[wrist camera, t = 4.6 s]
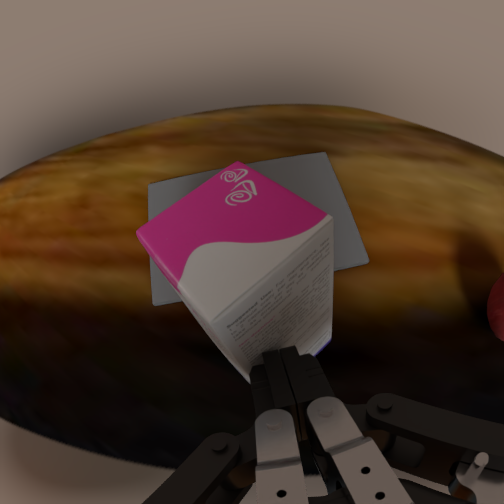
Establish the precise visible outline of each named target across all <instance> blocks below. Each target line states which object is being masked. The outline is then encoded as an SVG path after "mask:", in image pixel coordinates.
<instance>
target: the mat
mask: <svg viewBox="0 0 504 504" xmlns="http://www.w3.org/2000/svg"><path fill="white" fill-rule="evenodd" d="M245 165H247V166H248V167H250V168H252V169H254V170H255V171H257V172H259V173H261V174H262V175H264V176H266V177H268V178H269V179H271V180H273V181H274V182H276V183H278V184H280V185H281V186H283V187H285V188H286V189H288V190H290V191H291V192H293V193H295V194H296V195H298V196H300V197H301V198H303V199H305V200H306V201H308V202H310V203H311V204H313V205H314V206H316V207H318V208H319V209H321V210H323V211H324V212H325V213H327V214H329V215H331V216H332V217H333V219H334V222H333V223H334V230H333V236H334V268H333V271H337V270H341V269H346V268H350V267H355V266H359V265H363V264H368V262H369V259H368V256H367V253H366V250H365V247H364V245H363V242H362V239H361V237H360V234H359V231H358V229H357V226H356V224H355V221H354V219H353V216H352V213H351V211H350V208H349V206H348V204H347V201H346V199H345V196H344V194H343V191H342V189H341V187H340V184H339V182H338V180H337V177H336V175H335V173H334V170H333V168H332V166H331V164H330V161H329V159H328V157H327V155H326V153H325V152H320V153H313V154H305V155H298V156H292V157H285V158H278V159H272V160H266V161H260V162H254V163H249V164H245ZM224 169H225V168H222V169H216V170H211V171H206V172H202V173H197V174H192V175H187V176H183V177H178V178H174V179H169V180H165V181H161V182H157V183H152V184H148V217H149V221H150V220H152V219H153V218H154V217H156V216H157V215H159V214H160V213H161V212H163V211H164V210H166V209H167V208H169V207H170V206H172V205H173V204H174V203H176V202H177V201H179V200H180V199H182V198H183V197H184V196H186V195H187V194H189V193H190V192H192V191H193V190H195V189H196V188H198V187H199V186H200V185H202V184H203V183H205V182H206V181H208V180H209V179H210V178H212V177H213V176H215V175H216V174H218V173H219V172H221V171H222V170H224ZM150 271H151V287H152V300H153V305H155V306H157V305H163V304H169V303H175V302H180V301H182V299H181V298H180V297H179V295H178V294H177V293H176V291H175V290H174V289H173V287H172V286H171V284H170V283H169V282H168V280H167V279H166V278H165V276H164V275H163V273H162V272H161V271H160V269H159V268H158V266H157V265H156V264H155V262H154V261H153V259H152V258H151V256H150Z"/></svg>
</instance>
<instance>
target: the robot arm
mask: <svg viewBox="0 0 504 504" xmlns="http://www.w3.org/2000/svg"><path fill="white" fill-rule="evenodd" d="M279 353H280V354H279ZM262 356H263V361H264V364H260V365H255V366H252V368H251V371H250V373H249V377H250V383H251V389H252V395H253V400H254V406H255V412H256V420H255V423H254V425H253V426H252V427H251V428H250V429H249V430H247V431H246V432H244V433H242V434H240V435H237V436H233V435H232V434H229V433H216V434H213V435H211V436H209V437H207V438H206V439H205V440H204V441H203V442H202V443H201V444H200V445H199V447H198V448H197V449H196V450H195V451H194V452H193V453H192V454H191V455H190V456H189V457H188V458H187V459H186V460H185V461H184V462H183V463H182V464H181V465H180V467H179V468H178V469H177V470H176V471H175V472H174V473H173V474H172V475H171V476H170V477H169V478H168V479H167V480H166V481H165V482H164V483H163V484H162V485H161V486H160V487H159V488H158V489H157V490H156V491H155V492H154V493H153V494H152V495H151V496H149V498H147V499H146V500H145V501H144V502H143V503H142V504H239V503H240V501H241V500H242V499H243V497H244V496H245V495H246V494H247V492H248V491H249V489H250V488H251V487H252V484H253V483H254V482H256V489H257V504H504V425H503V424H498V423H494V422H490V421H486V420H482V419H478V418H474V417H470V416H466V415H462V414H458V413H455V412H451V411H447V410H444V409H440V408H437V407H433V406H430V405H426V404H423V403H420V402H416V401H413V400H410V399H407V398H404V397H400V396H397V395H394V394H390V393H381V394H377V395H375V396H373V397H372V398H371V399H370V400H369V401H368V402H367V404H364V405H348V404H345V403H342V402H341V401H340V400H339V399H337V398H336V397H335V395H334V393H333V391H332V389H331V387H330V385H329V383H328V381H327V378H326V376H325V374H324V372H323V370H322V368H321V366H320V364H319V362H318V360H317V358H315V357H314V356H313V355H311V354H310V353H307V354H303V355H299V353H298V350H297V348H296V346H295V345H293V346H289V347H285V348H280V349H279V351H278V349H276V350H272V351H267V352H263V353H262ZM300 434H301V437H302V440H306V439H308V440H309V443H310V446H311V454H312V456H313V458H314V461H315V463H316V465H317V468H318V470H319V472H320V474H321V477H322V479H323V481H324V483H325V486H326V488H327V492H328V495H326V496H321V497H307V492H306V487H305V480H304V475H303V469H302V464H301V459H300V455H299V454H300V451H299V444H298V441H301V438H300ZM391 467H393V468H395V469H398V470H401V471H404V472H406V473H409V474H412V475H415V476H418V477H420V478H423V479H427V480H429V481H432V482H435V483H439V484H442V485H445V486H448V490H449V493H450V494H451V495H448V494H445V493H442V492H439V491H436V490H433V489H431V488H428V487H426V486H423V485H420V484H418V483H415V482H413V481H410V480H406V479H400V478H397V477H396V475H395V473H394V472H393V470H392V469H391Z"/></svg>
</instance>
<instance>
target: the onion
mask: <svg viewBox="0 0 504 504" xmlns="http://www.w3.org/2000/svg"><path fill="white" fill-rule="evenodd" d="M487 316H488V320H489V324H490V328H491V329H492V331H493V332H494V334H495V335H496V337H497V338H499V339H501V340H503V341H504V273H502V275H501V276H500V277H499V279H498V280H497V281H496V282H495V284H494V285H493V286H492V289H491V292H490V295H489V298H488V301H487Z"/></svg>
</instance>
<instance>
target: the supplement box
mask: <svg viewBox="0 0 504 504" xmlns="http://www.w3.org/2000/svg"><path fill="white" fill-rule="evenodd" d="M333 222H334V219H333V217H332V216H331V215H329V214H327V213H325V212H324V211H323V210H321V209H319V208H318V207H316V206H314V205H313V204H311V203H310V202H308V201H306V200H305V199H303V198H301V197H300V196H298V195H296V194H295V193H293V192H291V191H290V190H288V189H286V188H285V187H283V186H281V185H280V184H278V183H276V182H274V181H273V180H271V179H269V178H268V177H266V176H264V175H262V174H261V173H259V172H257V171H255V170H254V169H252V168H250V167H248V166H247V165H245V164H243V163H241V162H239V161H236V162H235V163H233V164H231V165H230V166H228V167H226V168H225V169H224V170H222V171H221V172H219V173H218V174H216V175H215V176H213V177H212V178H210V179H209V180H208V181H206V182H205V183H203V184H202V185H200V186H199V187H198V188H196V189H195V190H193V191H192V192H190V193H189V194H187V195H186V196H184V197H183V198H182V199H180V200H179V201H177V202H176V203H174V204H173V205H172V206H170V207H169V208H167V209H166V210H164V211H163V212H161V213H160V214H159V215H157V216H156V217H154V218H153V219H152V220H150V221H149V222H147V223H146V224H144V225H143V226H142V227H140V228H139V229H138V230H137V231H136V234H137V237H138V239H139V240H140V242H141V243H142V245H143V246H144V248H145V249H146V251H147V252H148V254H149V255H150V256H151V258H152V259H153V261H154V262H155V264H156V265H157V266H158V268H159V269H160V271H161V272H162V273H163V275H164V276H165V278H166V279H167V280H168V282H169V283H170V284H171V286H172V287H173V289H174V290H175V291H176V293H177V294H178V295H179V297H180V298H181V299H182V301H183V302H184V303H185V305H186V306H187V307H188V309H189V310H190V311H191V313H192V314H193V315H194V317H195V318H196V320H197V321H198V322H199V324H200V325H201V326H202V328H203V329H204V330H205V332H206V333H207V334H208V335H209V337H210V338H211V339H212V341H213V342H214V343H215V344H216V346H217V347H218V348H219V349H220V351H221V352H222V353H223V354H224V355H225V357H226V358H227V359H228V360H229V361H230V362H231V363H232V365H233V366H234V367H235V368H236V369H237V370H238V371H239V373H240V374H241V375H242V376H243V377H244V378H245V379H246V380H247V381H248V382H249V383H250V377H249V373H250V371H251V368H252V366H255V365H260V364H264V361H263V356H262V353H263V352H267V351H272V350H276V349H278V351H279V349H280V348H285V347H289V346H293V345H295V346H296V348H297V350H298V353H299V355H303V354H307V353H310V354H311V355H313V356H314V357H315V356H316V355H317V354H318V353H319V352H320V351H321V350H322V349H323V348H324V347H325V346H326V345H327V344H328V343H329V342H330V341H331V334H332V309H333V268H334V236H333V230H334V223H333ZM279 354H280V353H279ZM250 384H251V383H250Z"/></svg>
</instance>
